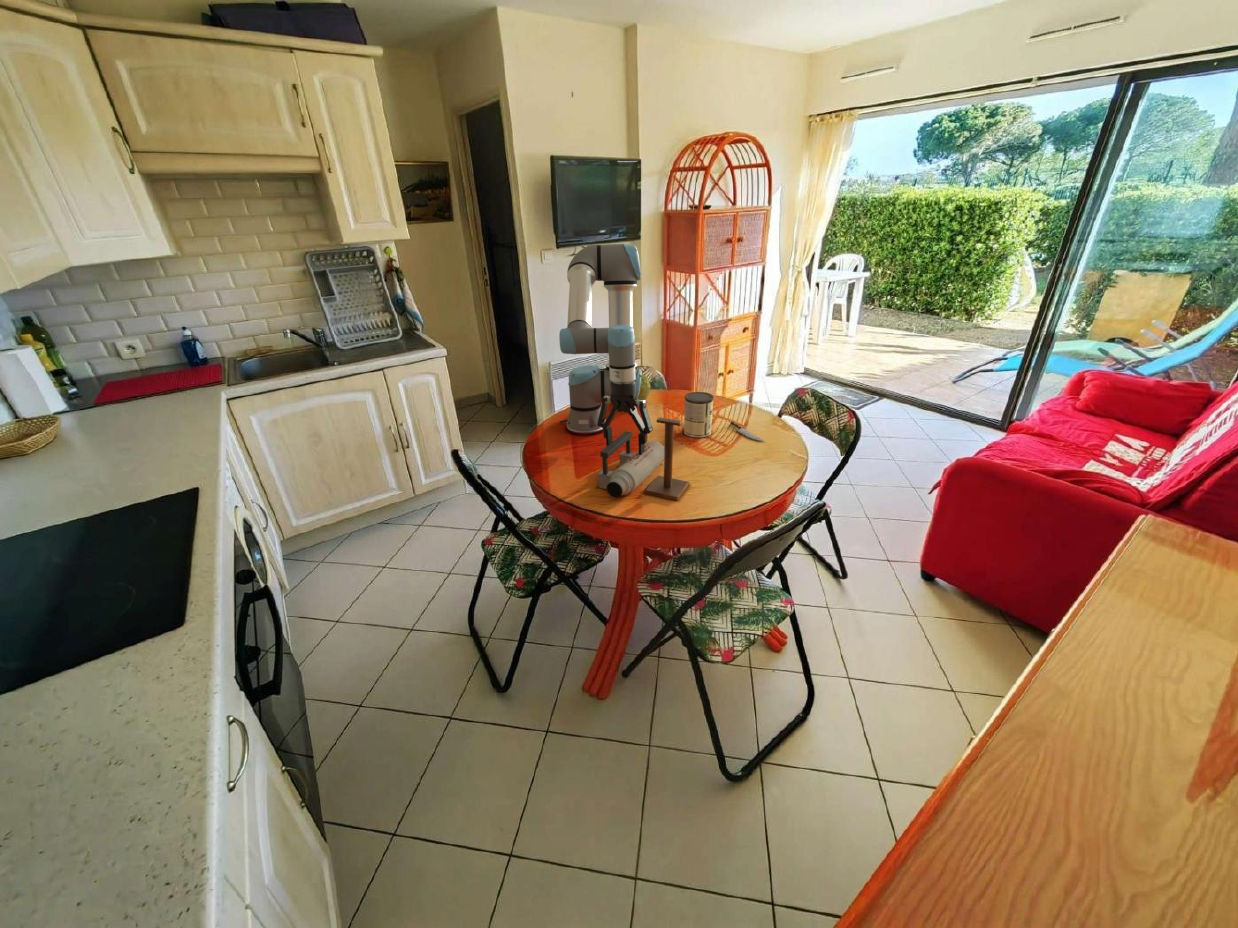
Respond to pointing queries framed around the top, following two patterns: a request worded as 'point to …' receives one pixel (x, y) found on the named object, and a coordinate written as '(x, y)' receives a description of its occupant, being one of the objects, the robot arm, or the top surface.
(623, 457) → the headphones
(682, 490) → the stand
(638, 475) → the thermos bottle
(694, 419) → the coffee can
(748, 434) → the chef's knife
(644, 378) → the fruit
